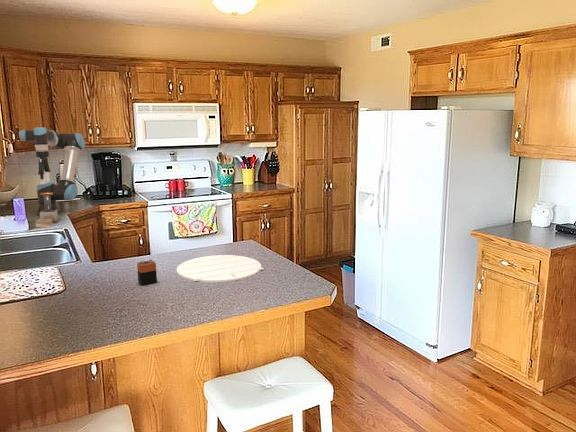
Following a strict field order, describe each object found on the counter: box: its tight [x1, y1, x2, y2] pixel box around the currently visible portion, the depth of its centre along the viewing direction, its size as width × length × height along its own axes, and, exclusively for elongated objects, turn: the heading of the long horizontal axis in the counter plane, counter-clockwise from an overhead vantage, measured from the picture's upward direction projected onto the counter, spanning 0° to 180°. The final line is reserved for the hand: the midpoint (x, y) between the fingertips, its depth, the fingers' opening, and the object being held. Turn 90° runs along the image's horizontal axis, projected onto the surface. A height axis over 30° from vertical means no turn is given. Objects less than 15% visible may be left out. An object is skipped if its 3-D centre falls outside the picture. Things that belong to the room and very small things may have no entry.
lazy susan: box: [176, 254, 265, 283], centre depth 222 cm, size 40×39×3 cm
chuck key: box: [41, 192, 53, 212], centre depth 322 cm, size 4×8×16 cm, turn 104°
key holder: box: [35, 218, 53, 229], centre depth 311 cm, size 8×8×4 cm
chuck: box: [39, 210, 62, 224], centre depth 324 cm, size 12×12×8 cm
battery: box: [137, 259, 158, 287], centre depth 201 cm, size 4×7×10 cm, turn 126°
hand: (45, 182), depth 319 cm, fingers open, 13 cm apart
